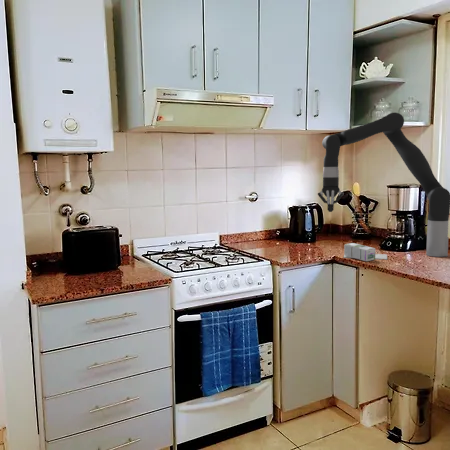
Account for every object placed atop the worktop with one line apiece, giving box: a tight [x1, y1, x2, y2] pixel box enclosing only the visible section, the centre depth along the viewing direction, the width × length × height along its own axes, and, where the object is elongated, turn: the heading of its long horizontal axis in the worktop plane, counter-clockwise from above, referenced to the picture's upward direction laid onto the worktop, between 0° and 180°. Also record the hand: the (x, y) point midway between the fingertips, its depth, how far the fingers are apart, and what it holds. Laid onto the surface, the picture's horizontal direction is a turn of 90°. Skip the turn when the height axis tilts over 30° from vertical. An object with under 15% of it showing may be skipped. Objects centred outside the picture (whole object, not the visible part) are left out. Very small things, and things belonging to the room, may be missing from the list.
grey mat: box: [342, 253, 388, 261], centre depth 229 cm, size 20×12×1 cm, turn 72°
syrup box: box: [343, 242, 376, 262], centre depth 224 cm, size 6×6×14 cm
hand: (330, 211), depth 232 cm, fingers closed
